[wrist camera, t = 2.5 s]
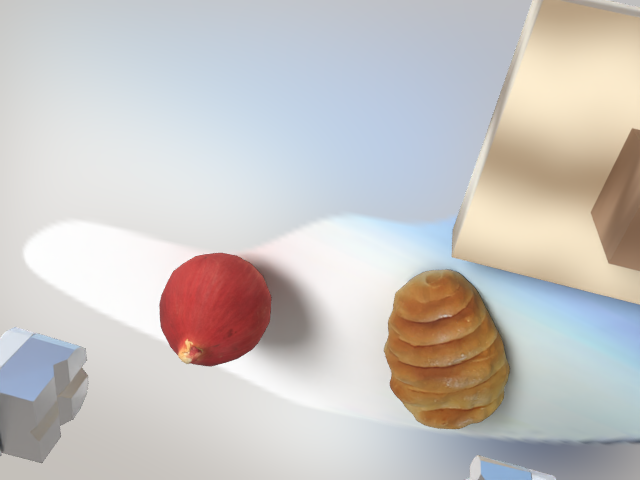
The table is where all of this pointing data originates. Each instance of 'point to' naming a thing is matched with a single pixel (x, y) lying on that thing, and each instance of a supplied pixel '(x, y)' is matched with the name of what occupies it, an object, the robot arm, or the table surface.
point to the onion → (214, 309)
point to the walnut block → (621, 207)
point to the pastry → (445, 351)
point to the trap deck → (556, 148)
